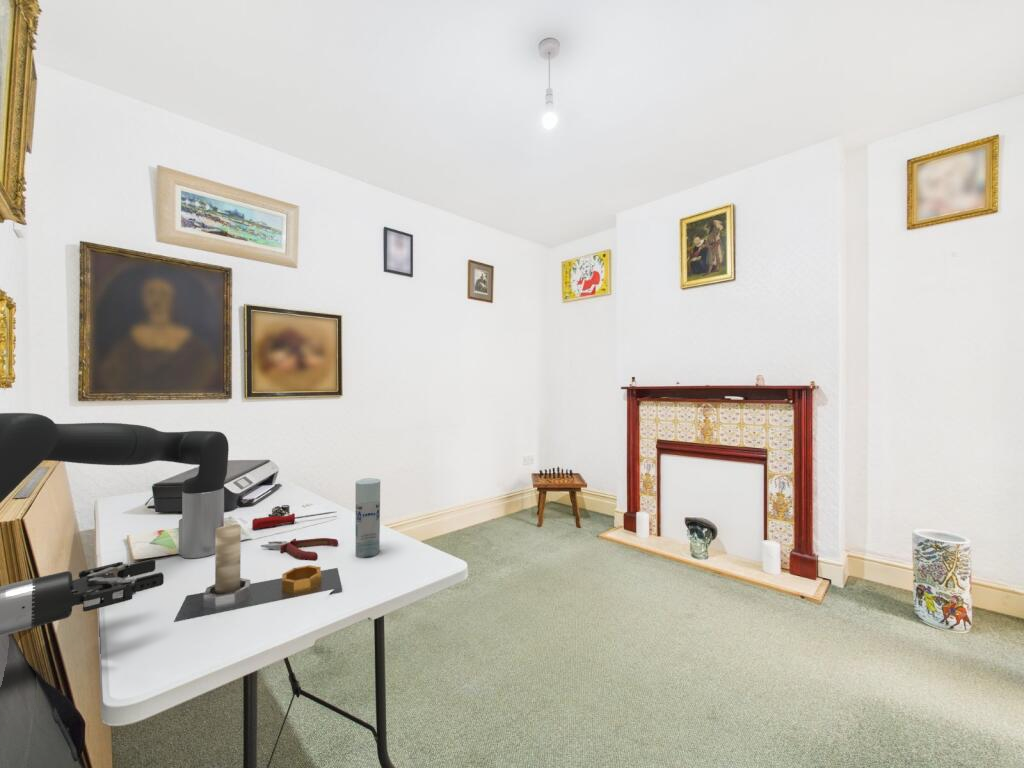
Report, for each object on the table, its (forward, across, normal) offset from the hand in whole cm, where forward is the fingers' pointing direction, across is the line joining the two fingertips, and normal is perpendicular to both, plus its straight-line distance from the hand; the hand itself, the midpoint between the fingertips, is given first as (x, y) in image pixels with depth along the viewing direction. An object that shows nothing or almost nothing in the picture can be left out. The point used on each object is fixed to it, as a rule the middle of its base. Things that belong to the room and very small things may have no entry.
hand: (158, 571), depth 79 cm
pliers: (+34, +19, +11) cm, 41 cm away
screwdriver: (+42, +42, +10) cm, 60 cm away
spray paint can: (+45, +2, +10) cm, 46 cm away
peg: (+11, 0, +10) cm, 15 cm away
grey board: (+18, -2, +10) cm, 21 cm away
